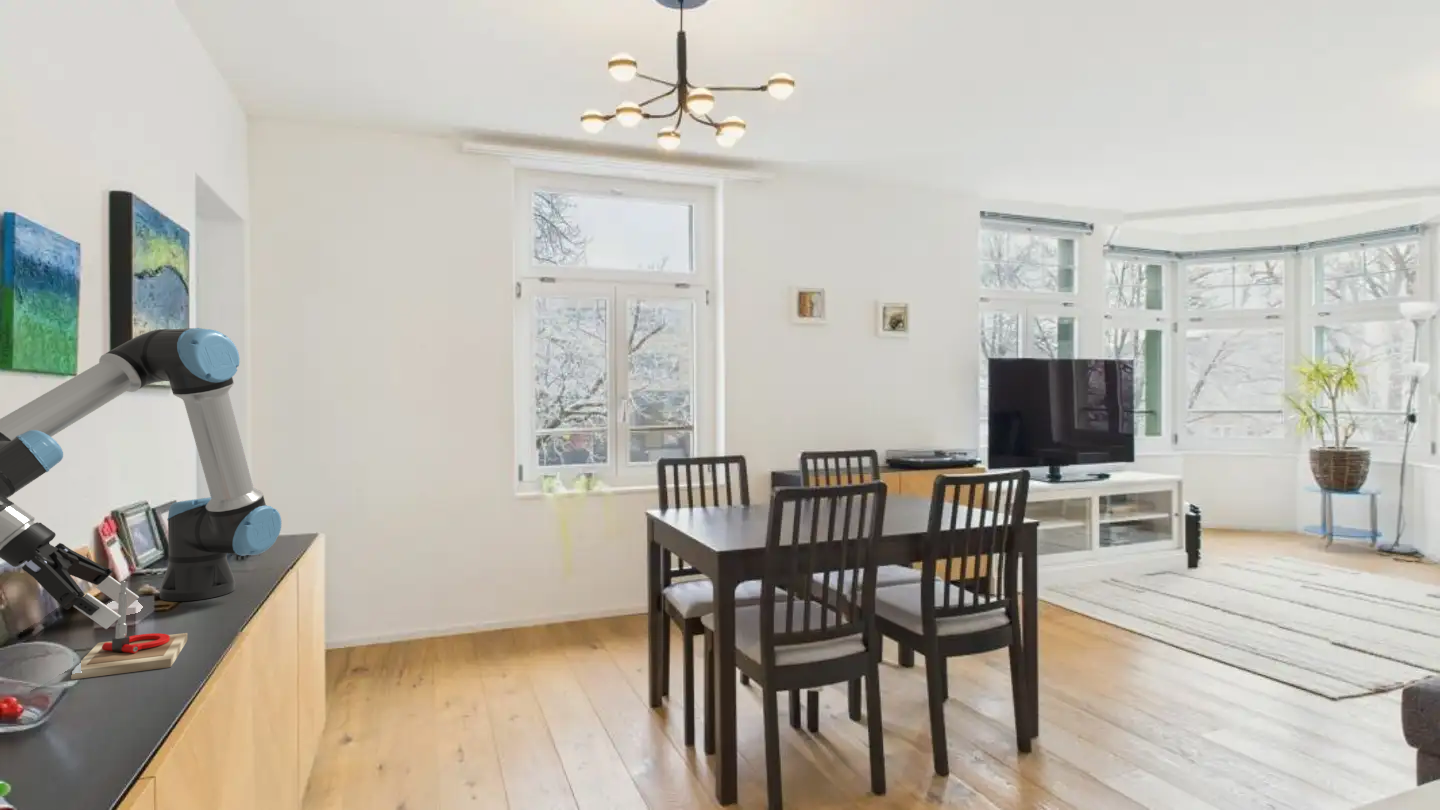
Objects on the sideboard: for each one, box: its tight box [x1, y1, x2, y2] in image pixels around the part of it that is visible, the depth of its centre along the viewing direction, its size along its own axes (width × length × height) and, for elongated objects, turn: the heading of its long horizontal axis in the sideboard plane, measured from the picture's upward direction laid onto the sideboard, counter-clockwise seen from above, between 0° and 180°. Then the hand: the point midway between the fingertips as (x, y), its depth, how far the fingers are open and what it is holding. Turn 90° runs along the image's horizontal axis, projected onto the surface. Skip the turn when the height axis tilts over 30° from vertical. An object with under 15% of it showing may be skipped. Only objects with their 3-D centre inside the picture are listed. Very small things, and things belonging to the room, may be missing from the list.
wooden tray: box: [70, 632, 188, 680], centre depth 140 cm, size 16×14×2 cm
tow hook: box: [102, 580, 170, 653], centre depth 143 cm, size 8×13×9 cm
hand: (123, 612), depth 139 cm, fingers open, 13 cm apart
